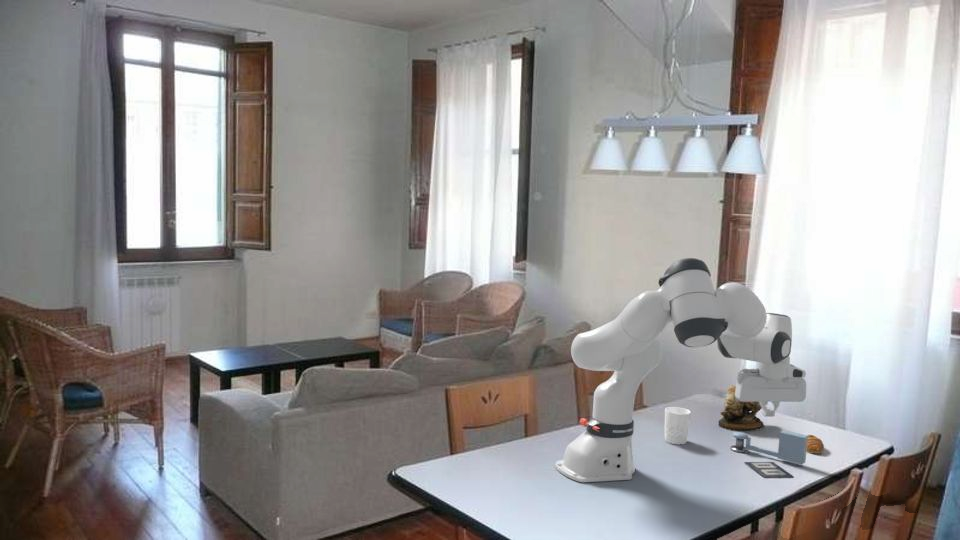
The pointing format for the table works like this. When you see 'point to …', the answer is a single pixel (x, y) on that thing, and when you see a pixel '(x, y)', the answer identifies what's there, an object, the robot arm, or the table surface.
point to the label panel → (768, 469)
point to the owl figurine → (739, 413)
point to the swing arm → (782, 446)
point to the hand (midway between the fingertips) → (768, 416)
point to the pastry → (814, 445)
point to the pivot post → (739, 446)
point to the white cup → (676, 425)
